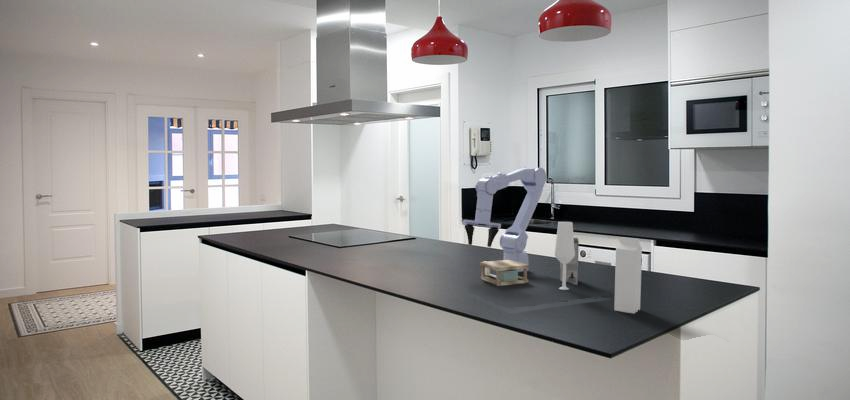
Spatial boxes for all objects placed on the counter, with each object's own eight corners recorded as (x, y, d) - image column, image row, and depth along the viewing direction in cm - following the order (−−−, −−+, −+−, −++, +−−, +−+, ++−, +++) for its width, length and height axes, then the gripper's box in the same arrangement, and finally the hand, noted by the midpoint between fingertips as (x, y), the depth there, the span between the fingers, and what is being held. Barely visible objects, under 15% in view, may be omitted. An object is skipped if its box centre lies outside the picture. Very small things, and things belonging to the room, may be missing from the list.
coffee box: (559, 279, 217) (560, 237, 216) (576, 279, 216) (577, 237, 215) (560, 284, 208) (561, 240, 207) (578, 285, 207) (579, 241, 206)
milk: (620, 306, 177) (622, 236, 175) (640, 309, 173) (642, 237, 172) (613, 310, 172) (615, 238, 170) (634, 313, 168) (636, 239, 167)
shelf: (497, 275, 223) (498, 256, 223) (528, 285, 205) (528, 264, 205) (469, 278, 218) (469, 258, 217) (497, 289, 200) (497, 267, 199)
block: (491, 273, 221) (491, 260, 221) (517, 282, 205) (518, 268, 205) (477, 274, 219) (477, 261, 218) (503, 284, 202) (503, 270, 202)
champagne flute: (552, 293, 194) (554, 223, 192) (555, 289, 200) (556, 221, 199) (573, 294, 192) (574, 223, 190) (574, 290, 198) (576, 221, 196)
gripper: (468, 208, 211) (464, 244, 211) (505, 212, 214) (501, 248, 214) (463, 207, 218) (459, 243, 218) (498, 212, 221) (494, 246, 221)
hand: (479, 245), depth 216 cm, fingers open, 7 cm apart
